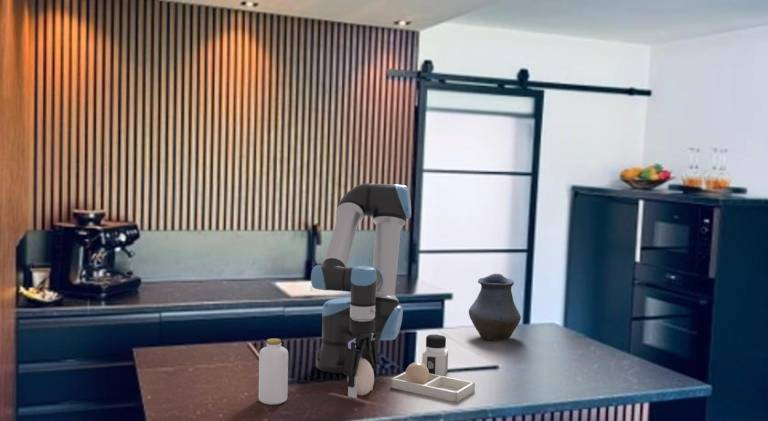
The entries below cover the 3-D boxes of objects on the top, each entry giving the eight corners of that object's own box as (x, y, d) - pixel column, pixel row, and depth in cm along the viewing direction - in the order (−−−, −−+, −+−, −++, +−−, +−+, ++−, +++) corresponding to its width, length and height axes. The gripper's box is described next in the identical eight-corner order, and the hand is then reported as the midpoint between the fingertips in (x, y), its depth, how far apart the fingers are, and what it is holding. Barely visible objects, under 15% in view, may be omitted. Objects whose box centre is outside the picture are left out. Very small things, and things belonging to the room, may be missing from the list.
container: (444, 378, 240) (446, 339, 239) (421, 376, 241) (422, 337, 240) (447, 371, 247) (449, 333, 246) (424, 369, 249) (426, 331, 248)
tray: (390, 389, 226) (391, 378, 226) (410, 379, 237) (410, 369, 236) (456, 404, 215) (457, 393, 214) (474, 393, 225) (474, 382, 225)
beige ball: (400, 386, 227) (401, 363, 227) (412, 380, 233) (413, 357, 233) (421, 391, 223) (422, 367, 223) (433, 385, 230) (433, 361, 229)
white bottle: (259, 396, 217) (260, 336, 216) (288, 396, 218) (289, 336, 216) (257, 405, 209) (258, 343, 207) (286, 405, 210) (287, 344, 208)
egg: (377, 393, 223) (378, 356, 222) (368, 401, 215) (369, 363, 214) (352, 389, 225) (353, 353, 224) (343, 397, 218) (344, 360, 217)
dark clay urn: (466, 342, 285) (468, 279, 283) (469, 329, 307) (471, 270, 305) (520, 346, 282) (522, 282, 280) (519, 333, 303) (521, 273, 301)
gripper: (353, 327, 208) (351, 405, 209) (391, 314, 225) (388, 386, 227) (332, 323, 211) (330, 400, 213) (370, 310, 229) (368, 382, 231)
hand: (360, 393), depth 220 cm, fingers closed on egg, 8 cm apart
